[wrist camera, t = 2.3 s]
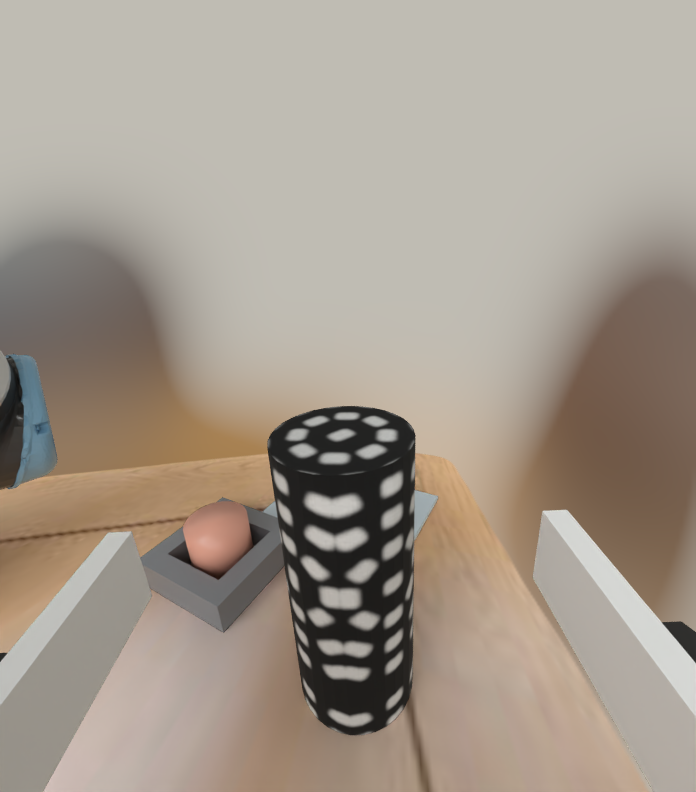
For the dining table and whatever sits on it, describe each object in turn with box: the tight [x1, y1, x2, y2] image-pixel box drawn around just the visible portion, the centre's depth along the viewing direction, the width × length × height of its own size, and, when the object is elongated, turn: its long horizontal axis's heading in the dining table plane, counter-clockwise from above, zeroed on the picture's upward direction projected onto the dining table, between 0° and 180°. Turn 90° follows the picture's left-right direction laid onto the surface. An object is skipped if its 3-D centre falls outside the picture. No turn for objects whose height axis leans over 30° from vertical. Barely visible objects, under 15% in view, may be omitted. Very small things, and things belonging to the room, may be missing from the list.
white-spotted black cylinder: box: [268, 406, 415, 735], centre depth 26 cm, size 8×8×20 cm
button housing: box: [140, 498, 284, 633], centre depth 39 cm, size 11×11×3 cm
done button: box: [183, 501, 253, 580], centre depth 39 cm, size 6×6×4 cm
